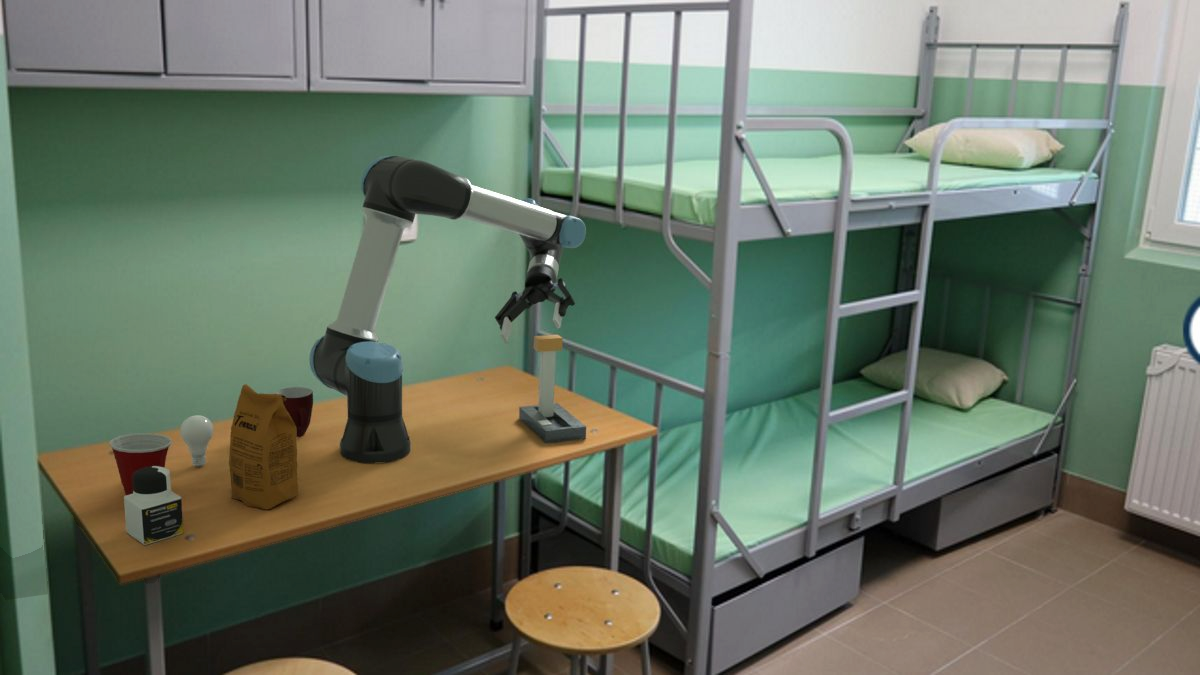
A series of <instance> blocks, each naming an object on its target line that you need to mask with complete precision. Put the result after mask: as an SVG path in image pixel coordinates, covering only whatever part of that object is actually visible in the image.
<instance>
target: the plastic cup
mask: <svg viewBox="0 0 1200 675" xmlns="http://www.w3.org/2000/svg"><path fill="white" fill-rule="evenodd" d="M172 443H173V439H172V438H171V437H170V436H166V435H164V434H160V433H159V434H158V433H151V432H150V433H148V432H147V433H145V432H141V433H140V432H138V433H128V434H123V435H119V436H116V437H114V438H112V439H110V441H109V442H108V445H109V446H110V448H111V450H112V454H113V455H114V459H115V463H116V465H117V469H118V470H117V471H118V474H119V477H120V482H121V485H122V487H123V490H124V494H125V495H124V496H126V495H130V494H133V483H132V475H133V473H134V472H135V471H137V470H139V469H141V468H145V467H150V466H159V467H164V468H166V462H167V455H168V451H169V448H170V447H171V445H172Z"/></svg>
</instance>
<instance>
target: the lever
mask: <svg viewBox="0 0 1200 675" xmlns="http://www.w3.org/2000/svg"><path fill="white" fill-rule="evenodd" d="M533 349H534V350H535V351H536V352H538V353H539V374H538V375H539V379H538V384H539V385H538V405H539V407H538V412H540V413H541V414H542V415H543V416H544V417H551V416H554V404H555V379H556V356H557V354H556V351H562V350H563V337H562V336H560V335H559V334H548V335H545V334H544V335H533Z"/></svg>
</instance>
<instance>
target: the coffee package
mask: <svg viewBox="0 0 1200 675" xmlns="http://www.w3.org/2000/svg"><path fill="white" fill-rule="evenodd" d="M283 401H286V397H285V396H284V395H282V394H276V393H261V392H259V393H258V392H257V391H255V390H254V389H253V388H252V387H251V386H250V385H248V384H247V383H246V384H242V387H241V390H240V394H239V396H238V399H237V401H236V402H237V404H236V408H235V411H234V414H233V419H232V424H231V427H230V440H229V442H230V443H229V452H228V453H229V455H228V467H229V472H230V474H229V476H230V493H231V496H230V497H231V499H234V500H241V501H242V502H243V503H244V504H245V505H246V506H248V507H250V508H257V509H263V510H271V509H273V508H274V507H277V506H278V505H280V504H281V503H283V502H284V501H288V500H291V499H293V498H295V497H296V496H297V495H299V485H298V484H299V483H298V480H299V478H298V466H299V465H298V443H297V439H298V437H297V428H296V426H295V424H294V422H293V420H292V418H291V417H290V415H289V413H288V412H287V410H286V408H285V406H284V404H283Z"/></svg>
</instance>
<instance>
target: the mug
mask: <svg viewBox="0 0 1200 675" xmlns="http://www.w3.org/2000/svg"><path fill="white" fill-rule="evenodd" d="M275 394H282V395H284V396H285V397H286V401H283V404H284V406H285V408H286V410H287V412H288V413H289V415H290V417H291V418H292V420H293V422H294V424H295V426H296V428H297V438H301V437H303V436H304V435H306V433H307V431H308V429H309V426H310V424H311V420H312V415H313V414H312V412H313V406H314V392H313V390H312V389H310V388H308V387H303V386H302V387H299V386H295V387H292V386H291V387H287V388H286V387H285V388H281V389H278V390H277V391H276V392H275Z"/></svg>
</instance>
